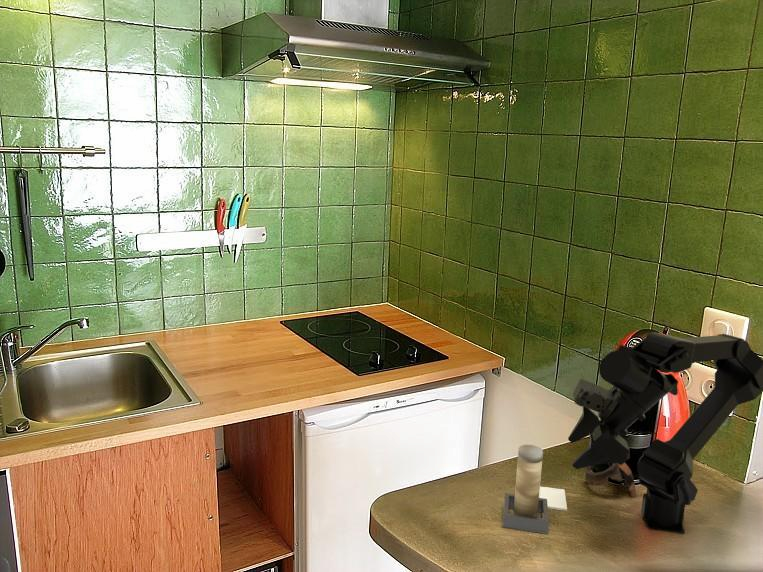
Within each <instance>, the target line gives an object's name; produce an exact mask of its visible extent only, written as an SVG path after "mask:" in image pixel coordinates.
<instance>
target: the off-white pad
mask: <svg viewBox="0 0 763 572" xmlns="http://www.w3.org/2000/svg"><path fill="white" fill-rule="evenodd" d="M565 490H566V489H562V488H554V487H547V486H541V485H540V491H539V498H544V499H547V505H548V510H549V509H550V510H556V511H557V510H558V511H565V512H568V505H567V498H566V491H565Z"/></svg>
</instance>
